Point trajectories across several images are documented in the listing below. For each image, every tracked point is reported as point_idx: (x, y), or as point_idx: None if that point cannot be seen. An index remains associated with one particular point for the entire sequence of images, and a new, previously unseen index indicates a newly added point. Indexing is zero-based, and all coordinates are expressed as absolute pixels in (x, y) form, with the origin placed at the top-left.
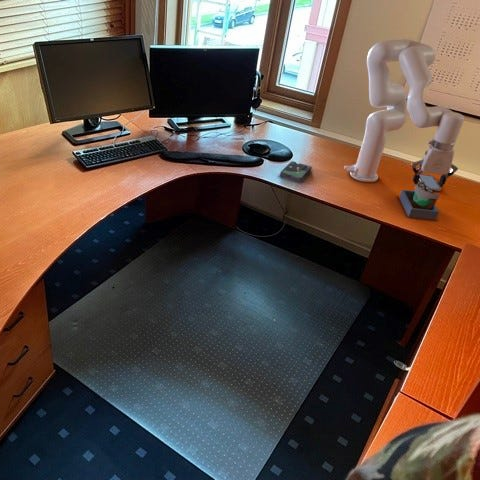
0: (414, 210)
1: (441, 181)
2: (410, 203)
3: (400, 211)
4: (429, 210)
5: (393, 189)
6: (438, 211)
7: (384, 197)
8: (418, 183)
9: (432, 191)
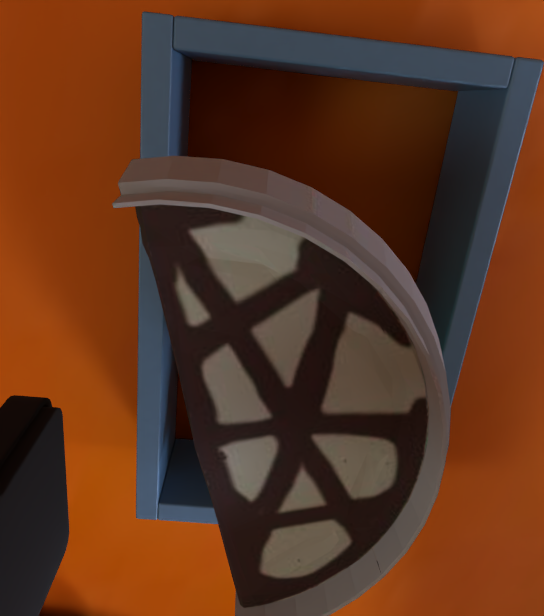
0: (487, 54)
1: (8, 543)
2: (479, 224)
3: (514, 196)
4: (283, 38)
5: (379, 588)
6: (148, 24)
7: (538, 453)
8: (359, 577)
9: (199, 365)
